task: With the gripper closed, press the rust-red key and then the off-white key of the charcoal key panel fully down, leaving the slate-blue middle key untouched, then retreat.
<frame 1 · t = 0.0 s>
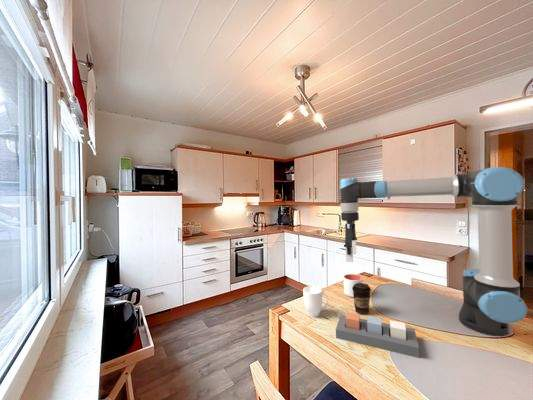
hand: (351, 257, 105), 28 cm above the table, fingers open, 13 cm apart
mug: (316, 314, 110), on the table
key white: (397, 331, 86), point 5 cm above the table, slide at 0.0 cm
cup: (353, 295, 128), on the table
key slate: (374, 326, 90), point 5 cm above the table, slide at 0.0 cm
coffee cup: (362, 312, 109), on the table
key panel: (375, 337, 90), on the table
key rust: (353, 322, 93), point 5 cm above the table, slide at 0.0 cm
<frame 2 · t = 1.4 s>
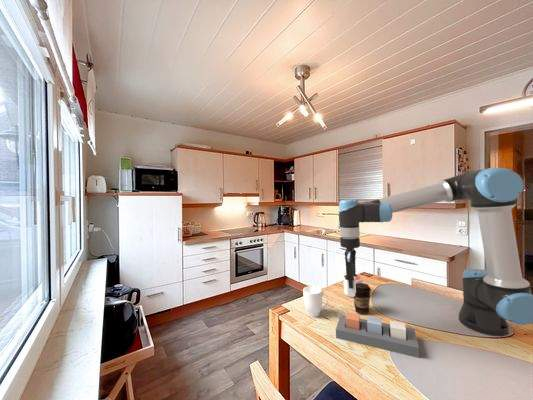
hand: (352, 293, 93), 17 cm above the table, fingers open, 3 cm apart
nothing on the table moved.
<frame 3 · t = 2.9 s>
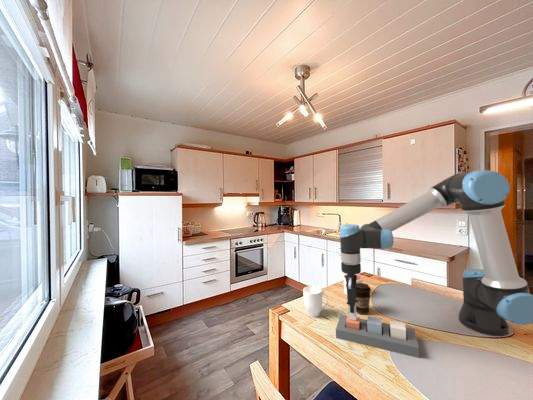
hand: (352, 318, 93), 6 cm above the table, fingers closed
key rust: (353, 325, 93), point 3 cm above the table, slide at 1.4 cm, touching gripper
everything else where it was.
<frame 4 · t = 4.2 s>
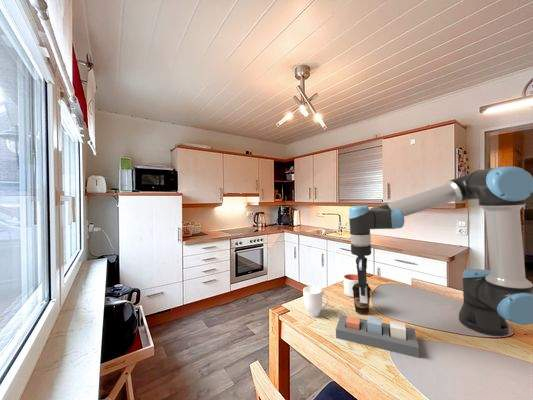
hand: (363, 302, 91), 14 cm above the table, fingers closed
key rust: (353, 325, 93), point 3 cm above the table, slide at 1.5 cm
everything else where it was.
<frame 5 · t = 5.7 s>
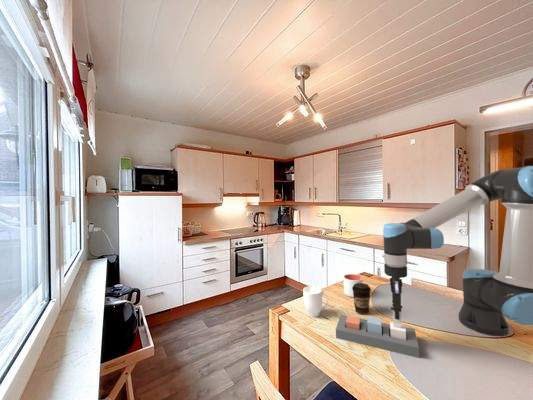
hand: (397, 325, 86), 7 cm above the table, fingers closed
key white: (397, 332, 86), point 4 cm above the table, slide at 0.6 cm, touching gripper
everything else where it was.
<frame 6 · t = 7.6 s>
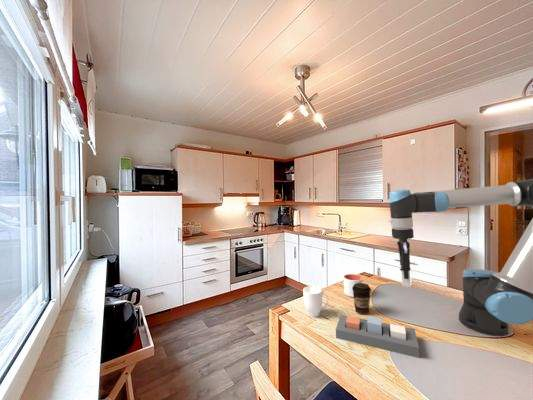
hand: (406, 285, 92), 19 cm above the table, fingers closed
key white: (397, 335, 86), point 3 cm above the table, slide at 1.5 cm
everything else where it was.
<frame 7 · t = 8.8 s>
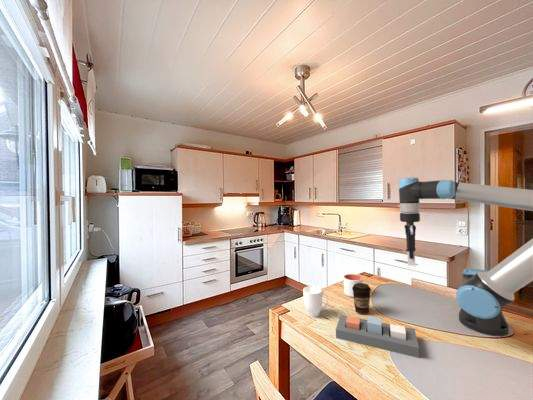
hand: (411, 265, 101), 24 cm above the table, fingers closed
nothing on the table moved.
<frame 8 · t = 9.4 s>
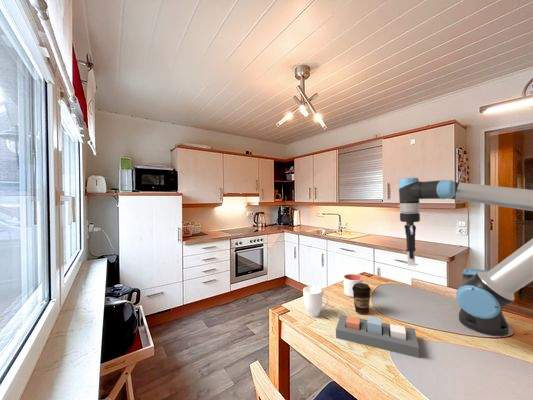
hand: (411, 265, 101), 24 cm above the table, fingers closed
nothing on the table moved.
at the end: key rust slide at 1.5 cm; key white slide at 1.5 cm; key slate slide at 0.0 cm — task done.
